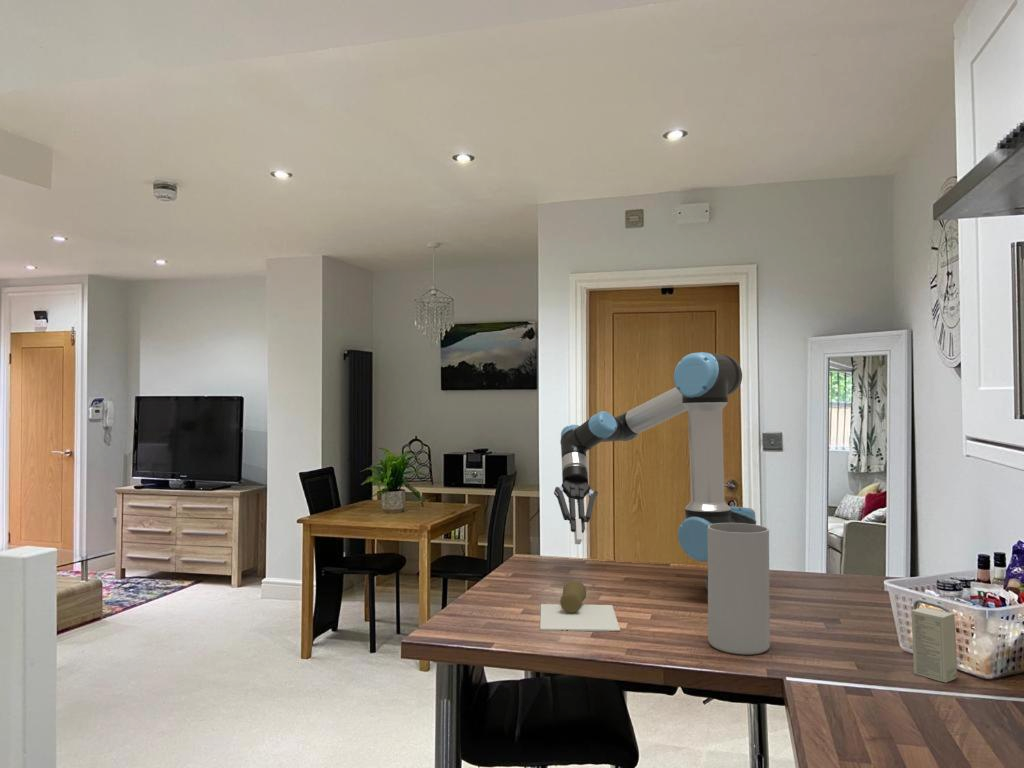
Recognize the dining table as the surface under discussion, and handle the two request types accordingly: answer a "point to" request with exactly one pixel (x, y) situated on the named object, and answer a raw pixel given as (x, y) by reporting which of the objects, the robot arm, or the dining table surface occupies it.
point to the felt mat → (578, 618)
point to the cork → (572, 596)
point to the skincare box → (934, 644)
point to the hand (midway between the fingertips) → (578, 541)
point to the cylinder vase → (738, 588)
